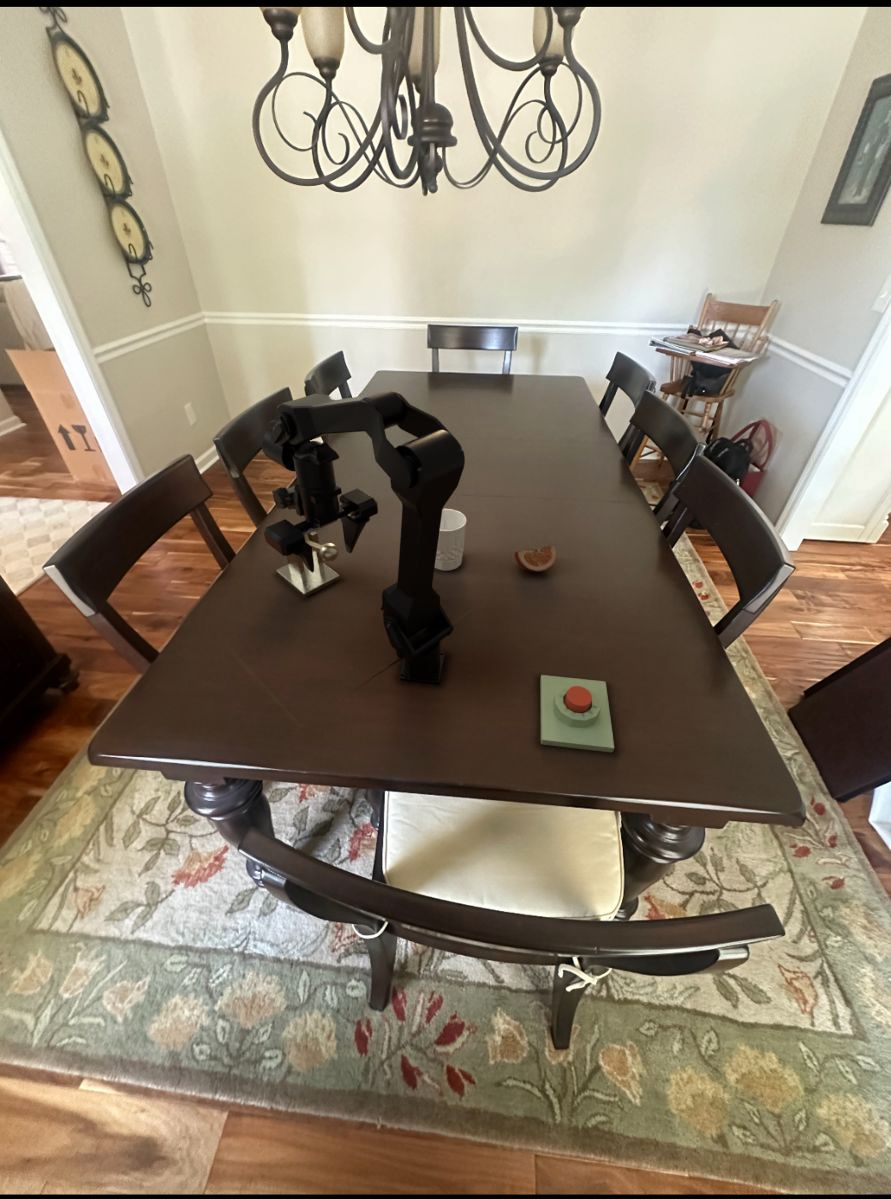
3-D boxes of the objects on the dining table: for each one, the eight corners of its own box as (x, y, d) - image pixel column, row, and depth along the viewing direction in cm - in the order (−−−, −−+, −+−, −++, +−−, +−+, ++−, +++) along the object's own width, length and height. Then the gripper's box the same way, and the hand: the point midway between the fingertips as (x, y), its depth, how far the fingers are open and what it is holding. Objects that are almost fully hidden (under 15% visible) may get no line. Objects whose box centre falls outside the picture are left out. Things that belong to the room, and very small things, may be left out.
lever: (344, 558, 89) (339, 541, 88) (328, 566, 88) (323, 549, 86) (307, 544, 98) (301, 529, 97) (292, 551, 96) (287, 535, 95)
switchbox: (612, 752, 72) (617, 740, 70) (540, 744, 73) (543, 732, 71) (604, 686, 81) (608, 673, 79) (540, 679, 82) (542, 667, 80)
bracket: (340, 579, 101) (333, 536, 94) (305, 598, 96) (295, 554, 90) (311, 557, 106) (302, 514, 99) (277, 574, 102) (265, 530, 95)
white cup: (461, 575, 102) (462, 533, 95) (422, 570, 103) (421, 528, 96) (467, 552, 108) (469, 511, 101) (431, 547, 109) (430, 506, 102)
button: (590, 714, 74) (593, 707, 73) (565, 711, 74) (567, 704, 73) (588, 694, 77) (590, 687, 75) (564, 692, 77) (566, 684, 76)
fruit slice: (546, 555, 107) (549, 535, 104) (560, 575, 102) (564, 554, 99) (508, 562, 105) (510, 542, 102) (521, 582, 100) (523, 561, 97)
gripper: (335, 446, 89) (346, 523, 99) (235, 482, 79) (259, 563, 89) (376, 468, 83) (383, 547, 93) (273, 510, 73) (294, 593, 83)
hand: (330, 561), depth 90 cm, fingers open, 8 cm apart
